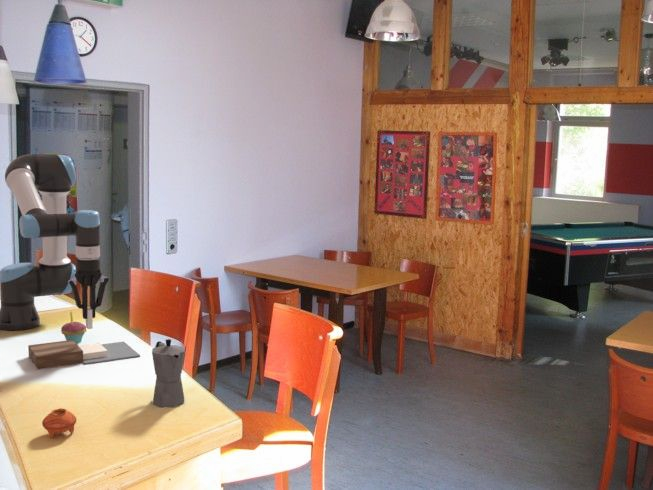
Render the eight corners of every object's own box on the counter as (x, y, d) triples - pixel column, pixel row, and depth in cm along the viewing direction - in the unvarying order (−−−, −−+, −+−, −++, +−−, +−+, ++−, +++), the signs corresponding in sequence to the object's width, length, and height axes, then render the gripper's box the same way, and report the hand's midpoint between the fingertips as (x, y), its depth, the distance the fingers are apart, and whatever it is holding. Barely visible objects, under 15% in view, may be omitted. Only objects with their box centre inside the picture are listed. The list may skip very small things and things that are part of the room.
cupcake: (81, 345, 251) (80, 312, 249) (57, 345, 251) (56, 311, 249) (90, 338, 259) (89, 306, 258) (66, 338, 260) (65, 305, 258)
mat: (71, 349, 246) (71, 348, 246) (123, 342, 256) (123, 341, 256) (84, 364, 231) (84, 363, 231) (140, 356, 241) (140, 355, 241)
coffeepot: (193, 406, 199) (193, 343, 196) (161, 412, 194) (160, 347, 191) (172, 389, 212) (172, 329, 209) (141, 394, 206) (140, 333, 204)
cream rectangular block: (75, 351, 242) (75, 345, 242) (99, 348, 247) (99, 342, 246) (82, 359, 234) (82, 353, 234) (107, 356, 238) (107, 350, 238)
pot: (81, 425, 183) (79, 403, 181) (72, 445, 176) (70, 422, 174) (49, 424, 183) (47, 401, 180) (38, 443, 176) (36, 420, 173)
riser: (28, 357, 237) (28, 345, 236) (72, 351, 244) (72, 339, 244) (37, 369, 225) (36, 356, 225) (83, 362, 233) (83, 350, 232)
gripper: (70, 261, 229) (71, 333, 233) (111, 258, 236) (112, 328, 240) (64, 257, 235) (66, 327, 239) (104, 254, 242) (105, 322, 246)
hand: (89, 327), depth 240 cm, fingers closed
